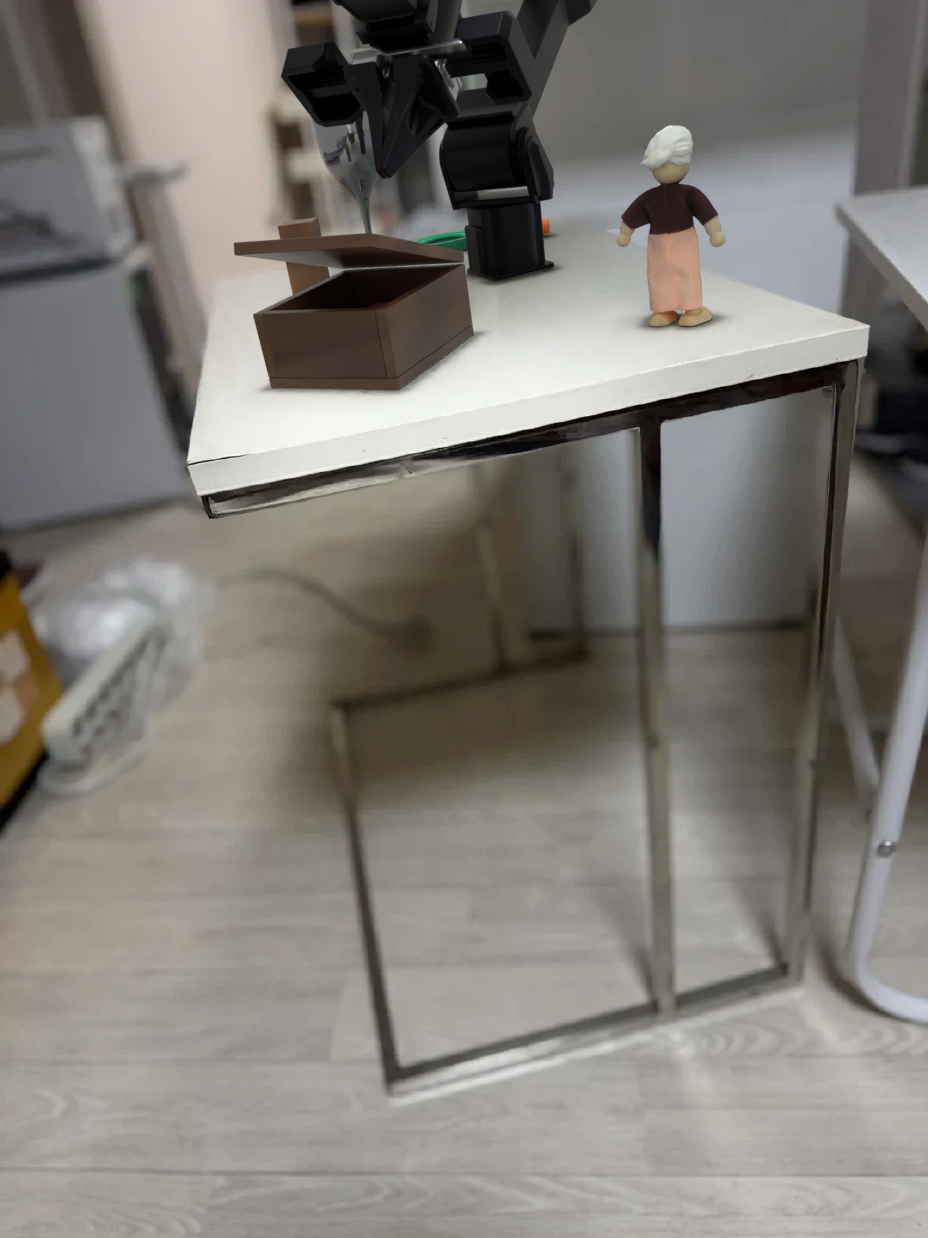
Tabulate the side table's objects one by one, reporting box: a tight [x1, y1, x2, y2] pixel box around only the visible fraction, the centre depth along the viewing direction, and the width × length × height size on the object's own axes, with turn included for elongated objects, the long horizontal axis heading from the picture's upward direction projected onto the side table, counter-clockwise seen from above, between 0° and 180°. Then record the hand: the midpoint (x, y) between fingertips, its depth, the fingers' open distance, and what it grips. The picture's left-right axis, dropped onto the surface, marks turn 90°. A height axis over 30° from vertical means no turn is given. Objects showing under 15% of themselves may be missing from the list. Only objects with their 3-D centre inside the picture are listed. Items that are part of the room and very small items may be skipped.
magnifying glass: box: [415, 218, 551, 251], centre depth 103 cm, size 15×6×2 cm, turn 87°
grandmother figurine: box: [615, 125, 726, 327], centre depth 64 cm, size 8×4×13 cm, turn 71°
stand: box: [277, 216, 331, 295], centre depth 90 cm, size 3×3×7 cm
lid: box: [233, 232, 465, 270], centre depth 65 cm, size 13×11×1 cm
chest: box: [252, 263, 475, 391], centre depth 67 cm, size 13×11×5 cm
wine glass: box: [310, 110, 380, 233], centre depth 103 cm, size 8×8×15 cm
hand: (382, 174), depth 67 cm, fingers closed
